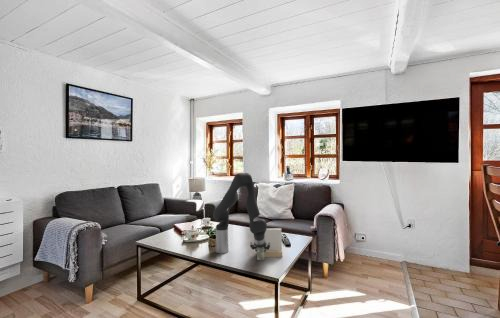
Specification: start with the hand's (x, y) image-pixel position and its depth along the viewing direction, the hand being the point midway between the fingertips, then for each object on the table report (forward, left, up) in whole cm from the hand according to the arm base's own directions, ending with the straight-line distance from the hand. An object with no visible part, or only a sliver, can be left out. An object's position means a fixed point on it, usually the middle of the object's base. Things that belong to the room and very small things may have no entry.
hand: (260, 250), depth 177 cm
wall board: (+6, +6, -5) cm, 10 cm away
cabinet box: (0, -2, -5) cm, 6 cm away
